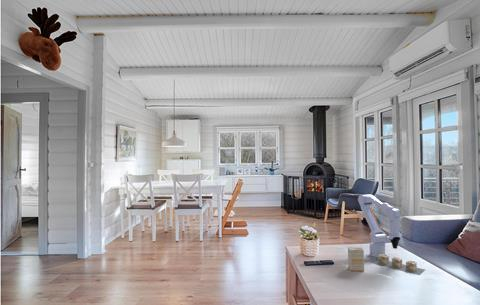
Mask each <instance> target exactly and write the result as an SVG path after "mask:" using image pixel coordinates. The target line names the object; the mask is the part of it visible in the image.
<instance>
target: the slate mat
mask: <svg viewBox="0 0 480 305" xmlns="http://www.w3.org/2000/svg"><path fill="white" fill-rule="evenodd" d="M370 264H375V265H379V266H381V267H385V268H389V269H392V270H398V271H401V272H406V273H408V274H413V275H417V276H421V274H423V273H424V272H425V271H426V269H425V268H421V267H417V270H416V271H410V270H406V264H404V263H402V267H400V268H398V267H394V266H392V260H389V263H388V264H382V263H379V257H377V258H376V259H374V260H372V261H371V262H370Z"/></svg>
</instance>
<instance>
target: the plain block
mask: <svg viewBox="0 0 480 305" xmlns="http://www.w3.org/2000/svg"><path fill="white" fill-rule="evenodd" d="M391 261H392V266H394V267H398V268H400V267H402V264H403V258H401V257H395V256H394V257H392V258H391Z"/></svg>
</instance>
